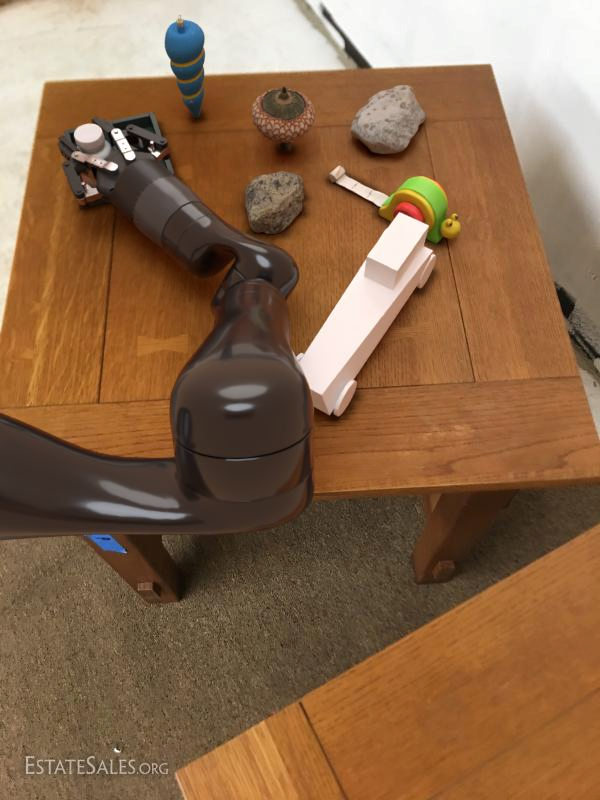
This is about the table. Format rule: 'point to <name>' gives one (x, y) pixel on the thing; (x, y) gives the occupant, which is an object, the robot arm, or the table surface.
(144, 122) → the compartment tray
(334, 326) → the toy truck
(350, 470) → the table surface
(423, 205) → the toy measuring tape
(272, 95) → the acorn
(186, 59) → the ornament
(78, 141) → the pill bottle
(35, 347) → the table surface
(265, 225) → the rock
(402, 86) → the decorative stone
